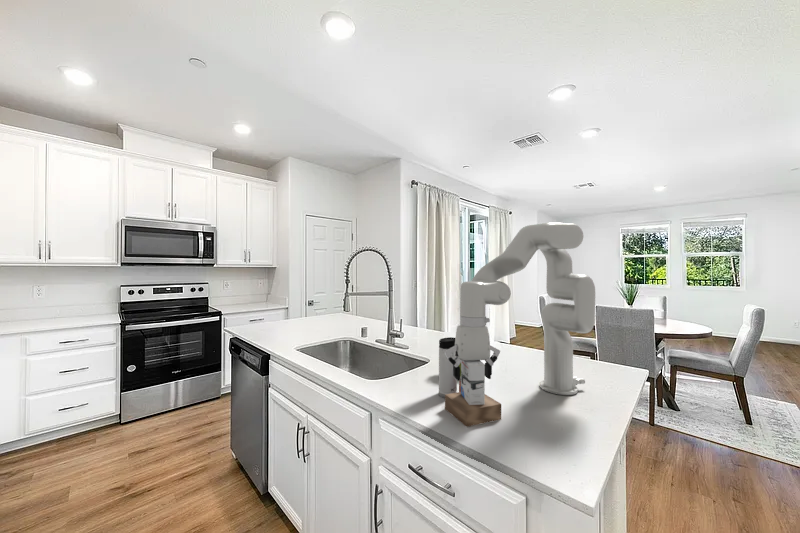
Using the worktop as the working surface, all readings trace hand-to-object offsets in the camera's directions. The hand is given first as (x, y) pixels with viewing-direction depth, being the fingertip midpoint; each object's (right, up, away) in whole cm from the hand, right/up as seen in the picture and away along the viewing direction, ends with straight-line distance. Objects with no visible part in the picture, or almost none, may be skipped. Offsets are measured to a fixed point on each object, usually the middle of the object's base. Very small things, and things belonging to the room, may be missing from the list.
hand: (472, 378), depth 96 cm
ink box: (0, -7, 0) cm, 7 cm away
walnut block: (0, -11, 0) cm, 11 cm away
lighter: (+1, -11, +11) cm, 16 cm away
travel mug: (-5, -11, +14) cm, 19 cm away
